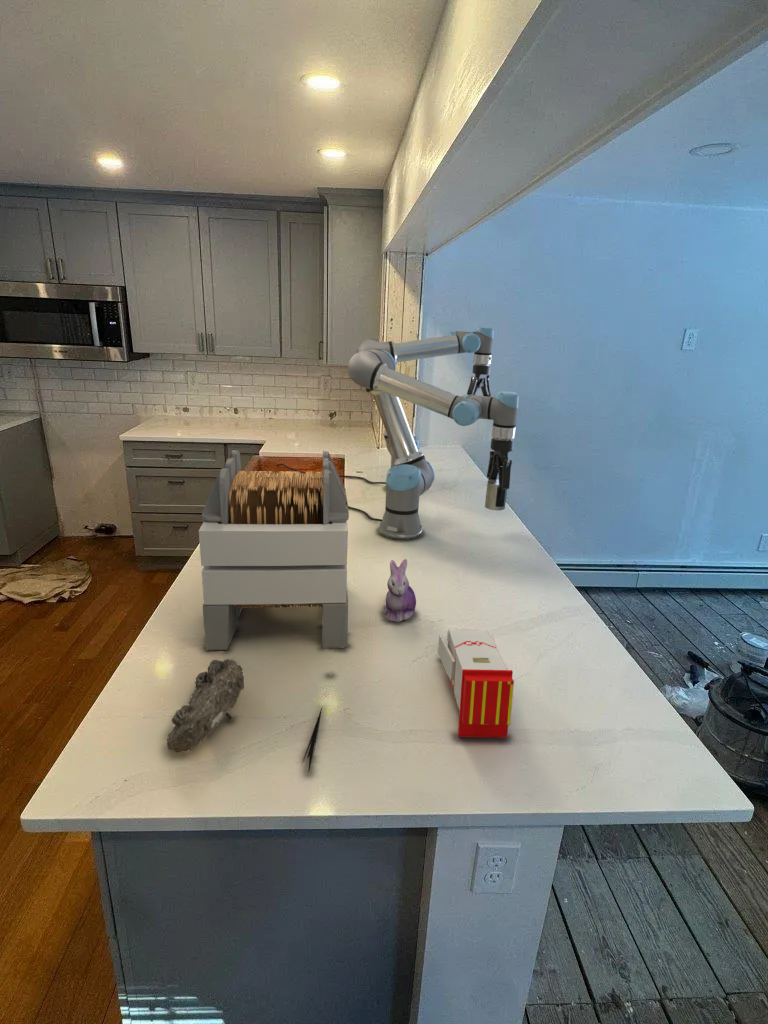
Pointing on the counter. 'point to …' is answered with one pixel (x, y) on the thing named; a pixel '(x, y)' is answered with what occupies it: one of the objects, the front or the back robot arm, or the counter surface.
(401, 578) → the figurine
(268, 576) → the record crate
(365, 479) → the back robot arm
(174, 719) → the fossil
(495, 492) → the can
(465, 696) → the toy
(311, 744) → the feather
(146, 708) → the counter surface
